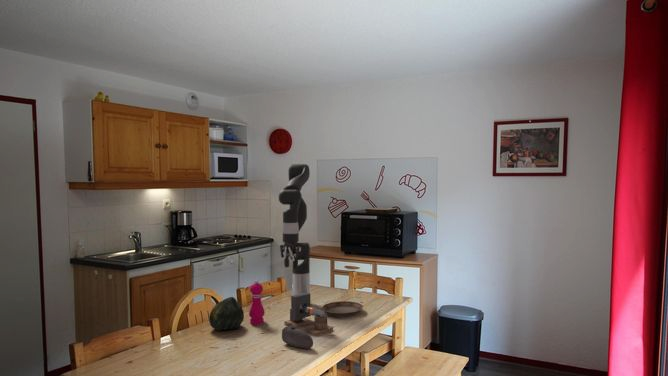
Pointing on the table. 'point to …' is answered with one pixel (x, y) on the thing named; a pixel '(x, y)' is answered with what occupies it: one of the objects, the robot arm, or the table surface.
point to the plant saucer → (342, 309)
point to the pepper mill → (256, 304)
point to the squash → (226, 315)
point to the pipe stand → (311, 325)
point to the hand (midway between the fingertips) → (291, 267)
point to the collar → (295, 305)
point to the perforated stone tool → (296, 337)
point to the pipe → (312, 311)
